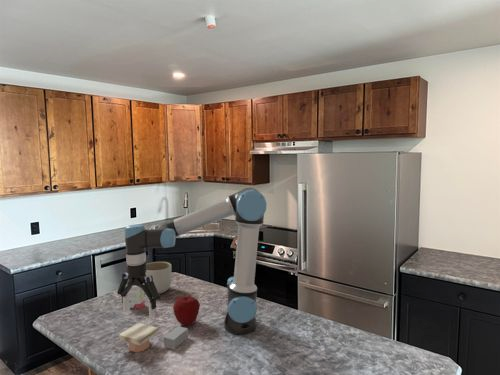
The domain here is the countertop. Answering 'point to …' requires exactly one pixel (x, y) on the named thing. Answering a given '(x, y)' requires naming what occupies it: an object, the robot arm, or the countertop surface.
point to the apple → (186, 310)
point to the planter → (160, 275)
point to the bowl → (139, 346)
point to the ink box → (136, 297)
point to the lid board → (138, 333)
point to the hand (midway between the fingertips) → (139, 313)
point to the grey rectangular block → (175, 337)
